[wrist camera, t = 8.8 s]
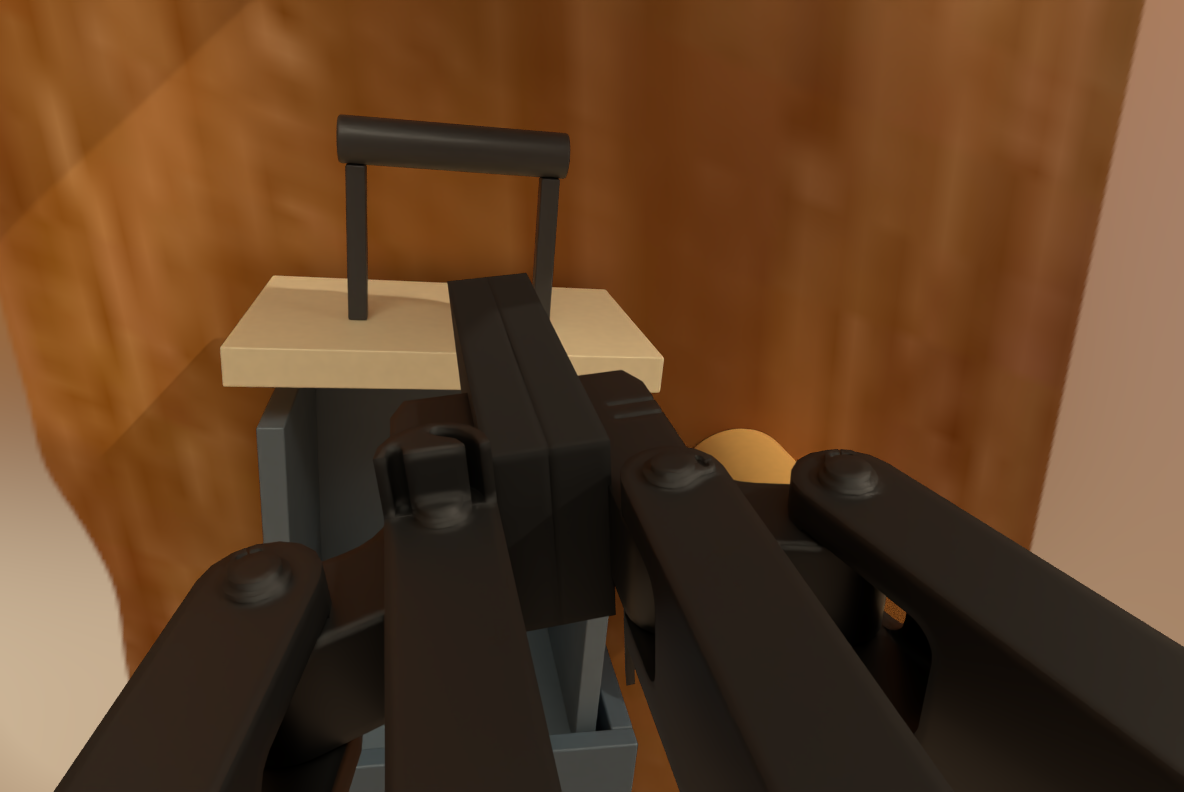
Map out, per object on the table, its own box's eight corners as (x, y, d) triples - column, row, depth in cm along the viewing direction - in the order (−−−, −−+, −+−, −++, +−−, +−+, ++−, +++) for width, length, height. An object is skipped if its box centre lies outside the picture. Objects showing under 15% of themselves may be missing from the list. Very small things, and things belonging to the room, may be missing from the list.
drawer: (263, 99, 28) (201, 110, 20) (621, 130, 31) (691, 149, 23) (291, 634, 37) (254, 793, 28) (573, 621, 39) (612, 762, 31)
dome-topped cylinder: (765, 406, 38) (891, 528, 28) (805, 501, 41) (935, 645, 30) (653, 466, 38) (738, 609, 28) (700, 557, 41) (794, 720, 30)
